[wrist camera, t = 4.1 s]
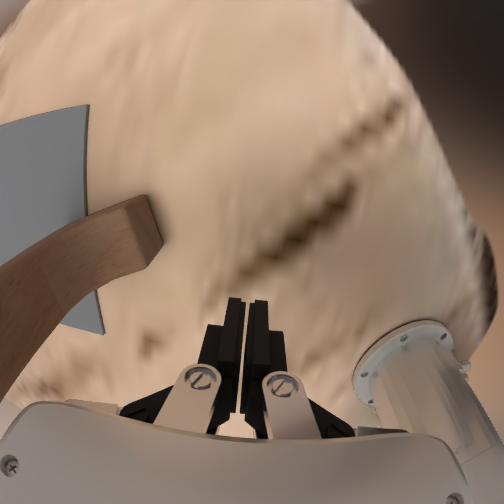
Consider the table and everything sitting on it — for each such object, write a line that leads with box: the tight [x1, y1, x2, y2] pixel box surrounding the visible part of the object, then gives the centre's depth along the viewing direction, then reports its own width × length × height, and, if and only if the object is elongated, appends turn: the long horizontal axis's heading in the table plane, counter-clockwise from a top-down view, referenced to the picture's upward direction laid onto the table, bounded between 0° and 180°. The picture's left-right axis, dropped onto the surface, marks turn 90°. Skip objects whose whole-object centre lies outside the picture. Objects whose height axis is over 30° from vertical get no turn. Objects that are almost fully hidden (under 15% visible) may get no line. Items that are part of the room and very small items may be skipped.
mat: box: [0, 105, 105, 335], centre depth 21 cm, size 21×22×1 cm
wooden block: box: [0, 195, 163, 402], centre depth 13 cm, size 9×4×18 cm, turn 105°
